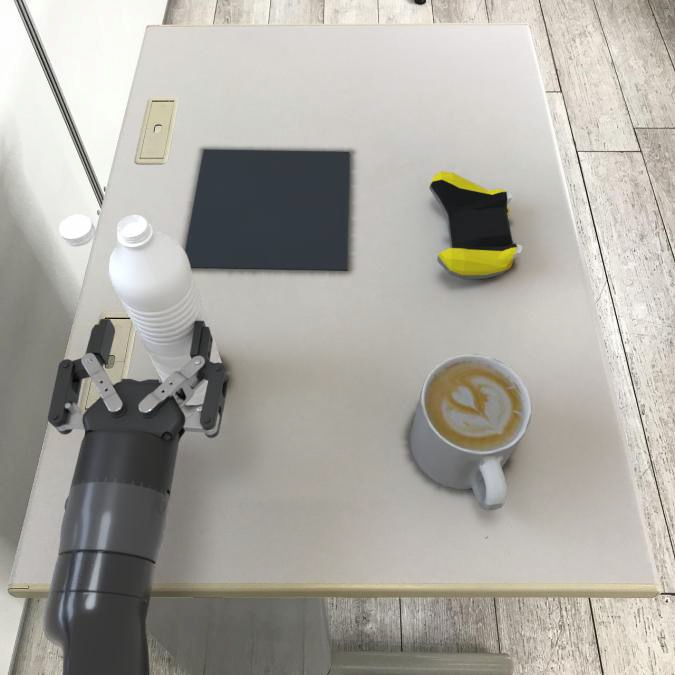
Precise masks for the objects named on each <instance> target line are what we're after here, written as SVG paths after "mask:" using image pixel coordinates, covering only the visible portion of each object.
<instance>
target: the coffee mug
mask: <svg viewBox="0 0 675 675" xmlns="http://www.w3.org/2000/svg"><path fill="white" fill-rule="evenodd" d="M531 419H532V400H531V396H530V393H529V391H528V388H527V386H526V385H525V383H524V381H523V380H522V378H521V377H520V376H519V375H518V374H517V373H516V372H515V370H513V369H512V368H511V367H510V366H508V365H507V364H505V363H504V362H502V361H500V360H498V359H496V358H493V357H490V356H487V355H482V354H478V353H465V354H459V355H454V356H451V357H448V358H446V359H445V360H442V361H441V362H439V363H438V364H437V365H436V366H435V367H433V368H432V370H431V371H430V372H429V373H428V375H427V376H426V378H425V380H424V382H423V385H422V388H421V391H420V395H419V399H418V403H417V406H416V411H415V414H414V418H413V421H412V424H411V429H410V436H409V438H410V439H409V443H410V449H411V453H412V456H413V458H414V461H415V462H416V464H417V465H418V467H419V469H420V470H421V471H422V472H423V473H424V474H425V475H426V476H427V477H428V478H430V479H431V480H432V481H434V482H436V483H438V484H439V485H441V486H444V487H447V488H450V489H456V490H470V489H472V492H473V494H474V498H475V500H476V502H477V504H478V506H479V507H480V509H482V510H483V511H487V512H489V511H490V512H491V511H492V512H493V511H496V510H499V509H501V508H503V506H504V505H505V503H506V500H507V497H508V496H507V495H508V488H507V487H508V486H507V482H506V476H505V473H504V471H503V467H504V465H505V464H506V462H507V461H508V460H509V458H510V457H511V455H512V453H513V452H514V450H515V449H516V447H518V445H519V444H520V442H521V440H522V438H523V437H524V436H525V434H526V432H527V430H528V428H529V426H530V423H531Z"/></svg>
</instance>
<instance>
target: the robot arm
mask: <svg viewBox="0 0 675 675" xmlns="http://www.w3.org/2000/svg"><path fill="white" fill-rule="evenodd" d="M115 334H116V328H115V325H114V324H113V322H112V320H111V319H110V318H100V320H99V323H98V324H94V325H93V327H92V328H91V331H90V335H89V339H88V341H87V342H88V343H87V346H86V350H85V353H84V354H83V355H82V357H80V358H78V359H74V360H71V359H69V358H66V359H63V360H61V361H60V363H59V364H58V367H57V372H56V376H55V381H54V386H53V391H52V396H51V399H50V404H49V409H48V414H47V420H48V421H47V422H49V423H50V425H52V426H53V428H55V429H56V431H57V432H59V434H61V435H64V436H67V435H68V434H71V432H73V430H84V436H83V438H82V439H81V442H80V447H79V451H78V454H77V455H78V456H77V460H76V464H75V467H74V472H73V476H72V480H71V484H70V489H69V492H68V496H67V497H66V499H65V503H64V513H63V517H62V521H61V527H60V535H59V537H60V538H59V545H58V546H59V547H58V552H57V557H56V562H55V566H54V570H53V574H52V578H51V582H50V587H49V591H48V595H47V597H46V598H47V600H46V603H45V608H44V614H43V620H42V630H43V633H44V634H43V635H44V636H45V638H46V639H47V641H49V642H50V643H51V644H53V645H54V646H57V647H59V648H61V651H62V675H151V674H150V673H151V671H150V654H149V645H148V644H149V643H148V638H147V637H148V636H147V624H146V622H147V615H148V612H149V607H150V600H151V595H152V588H153V584H154V576H155V570H156V563H157V559H158V555H159V552H160V548H161V545H162V541H163V539H164V535H165V530H166V524H167V518H168V512H169V506H170V498H171V493H172V488H173V481H174V475H175V468H176V462H177V456H178V449H179V444H180V442H181V439H182V437H183V435H184V434H185V433H186V432H187V433H189V432H190V433H199V434H201V433H202V434H205V436H206V437H207V438H209V439H214V438H216V437H217V436H218V435H220V434H219V433H220V431H221V430H220V429H221V425H222V420H223V415H224V409H225V404H226V399H227V393H228V388H229V384H230V379H229V376H228V374H227V372H226V367H225V364H223V362H222V363H219V362H218V363H213V362H210V356H211V348H212V343H213V338H212V335H211V332H210V329H209V327H206V325H205V322H204V321H197V320H196V321H195V326H194V332H193V338H192V344H191V350H190V356H191V360H190V361H189V362H188V363H187V364H186V365H185V366H184V367H183V368H182V369H181V370H180V371H175V372H174V373H172V374H171V375H170V376H169V377H168V378H167V379H166V380H165V381H164V382H161V381H160V380H159V379H153V378H152V379H151V378H150V379H145V380H137V379H133V378H121V381H118V382H116V383H113V381H112V380H111V379H110V376H109V375H108V373H107V372H106V369H105V368H104V365H105V366H107V365H108V364H109V360H110V355H111V351H112V347H113V344H114V343H113V342H114V339H115ZM88 378H89V379H90V380H91V382H92V383H93V385H94V387H95V389H96V390H97V392H98V394H99V396H100V397H99V398H98V399H96V401H95V402H93V403H92V405H90V407H88V408H87V409H86V410H85V411H84V413H83V412H82V409H81V407H80V406H79V400H80V394H81V393H80V392H81V389H82V385H83V384H82V383H83V380H84V379H88ZM206 380H207V381H208V384H207V388H206V393H205V398H204V402H203V404H202V405H197V407H196V408H195V409H194V411H193V413H192V414H191V415H190V416H186V415H185V413H184V411H183V410H182V408H183V407H184V406H186V405H185V404H186V403H187V402H188V401H189V400H190V399H191V398H192V397H193V395H194V392H195V390H196V389H197V388H198V387H199V386H200V385H202V384H203V383H204V382H205V381H206ZM174 393H175V394H174ZM173 394H174V395H173Z"/></svg>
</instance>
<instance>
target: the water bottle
mask: <svg viewBox="0 0 675 675" xmlns="http://www.w3.org/2000/svg"><path fill="white" fill-rule="evenodd" d="M116 230H117V233H116V238H117V241H118V242H117V244H116V245H115V247H114V249H113V250H112V252H111V255H110V258H109V263H108V274H109V280H110V282H111V284H112V287H113V289H114V290H115V292H116V294H117V295H118V297H119V299H120V301H121V303H122V305H123V307H124V309H125V311H126V313H127V315H128V317H129V319H130V321H131V322H132V324H133V327H134V329H135V331H136V333H137V335H138V337H139V339H140V342H142V345H143V347H144V349H145V351H146V352H147V354H148V356H149V359H150V361H151V363H152V365H153V367H154V369H155V370H156V372H157V374H158V376H159V379H160V380H161V383H163V382H164V381H165V380H166V379H167V378H168V377H169V376H170V375H171V374H172V373H174V372H175V371H180V370H181V369H182V368H183V367H184V366H185V365H186V364H187V363H188V362H189V361H190V360H191V356H190V350H191V344H192V338H193V332H194V326H195V321H196V320H197V321H204V322H205V325H206V327H209V329H210V332H211V335H212V338H213V343H212V348H211V356H210V362H213V363H218V362H219V363H222V364H223V362H222V358H221V356H220V355H221V354H220V353H219V350H218V347H217V344H216V340H215V338H214V334H213V332H212V329H211V325H210V322H209V319H208V316H207V313H206V310H205V307H204V305H203V301H202V299H201V296H200V293H199V292H200V291H199V289H198V287H197V284H196V280H195V277H194V273H193V271H192V268H191V267H190V263H189V260H188V257H187V255H186V253H185V248H184V247H183V246H182V245H181V244H180V243H179V242H178V241H177V240H176V239H175V238H174V237H172V236H171V235H168V234H166V233H164V232H161V231H159V230H155V229H154V228H153V227H152V225H151V224H150V223H149V222H148V221H147V220H146V219H145V218H144V216H141V215H138V214H132V215H131V214H130V215H127V216H124V217H123V218H122V219H121V220H119V222H118V224H117V227H116ZM58 232H59V234H60V236H61V238H62V240H63V241H64V243H65V244H66V245H67V246H70V247H82V246H85V245H88V244H89V243H91V241H93V240H94V239H95V236H96V234H97V230H96V227H95V225H94V223H93V220H92V219H91V218H90V217H89V216H87V215H84V214H73V215H70V216H68V217H66V218H64V220H62V221H61V223H60V225H59V227H58ZM207 384H208V381H207V380H206V381H205V382H204V383H203V384H202V385H200V386H199V387H198V388H197V389H196V390H195V392H194V395H193V397H192V398H191V399H190V400H189V401H188V402H187V403H186V404H185V405H184V406H201V405H203V402H204V398H205V393H206V388H207ZM174 394H175V393H174ZM174 394H173V395H174Z"/></svg>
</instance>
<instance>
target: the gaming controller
mask: <svg viewBox="0 0 675 675" xmlns="http://www.w3.org/2000/svg"><path fill="white" fill-rule="evenodd" d="M428 190H429V191H430V192H431V194H432V196H434V198H435V200H436V201H437V203H438V204H439V206H440V207H441V208H442V211H443V212H444V214H445V216H446V219H447V224H448V233H449V240H450V247H449V248H447V249H444V250H442V251H440V252H439V253H438V254H437V258H436V260H437V262H438V264H439V265H440V266H441V268H443V269H444V270H445V271H446V272H447V273H448V274H449V275H451V276H453V277H456V278H458V279H461V280H480V279H482V280H483V279H485V280H486V279H490V278H493V277H496V276H500V275H502V274H503V275H504V273H506V272H507V271H508V270H510V269H511V268H512V266H513V263H514V260H515V258H517V256H518V255H520V254H521V253H522V250H523V245H521V244H517V243H514V242H513V236H512V230H511V226H510V220H509V216H510V212H511V211H510V209H509V208H508V206H509V204H510V202H511V200H512V199H513V194H512V192H510V191H507V190H505V189H502V188H501V189H499V188H497V189H487V188H484V187H482V186H480V185H478V184H477V183H474V182H473V181H470V180H469V179H466V178H465V177H463V176H461V175H459V174H456V173H455V172H453V171H452V172H451V171H443V170H440V171H439V172H438V173H436V174H434V175H433V177H432V180H431V182H430V185H429V189H428Z"/></svg>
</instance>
